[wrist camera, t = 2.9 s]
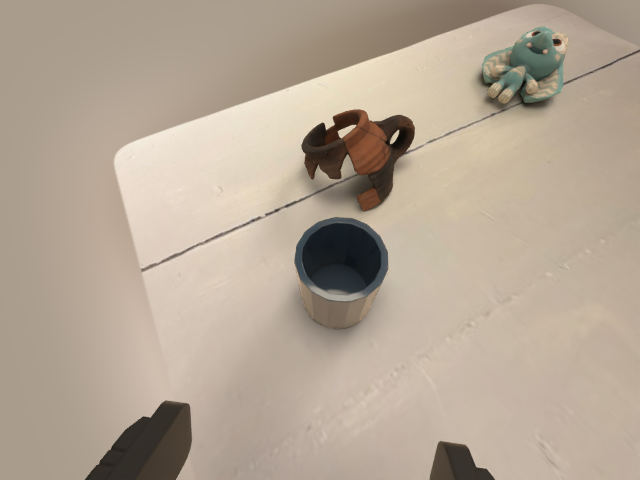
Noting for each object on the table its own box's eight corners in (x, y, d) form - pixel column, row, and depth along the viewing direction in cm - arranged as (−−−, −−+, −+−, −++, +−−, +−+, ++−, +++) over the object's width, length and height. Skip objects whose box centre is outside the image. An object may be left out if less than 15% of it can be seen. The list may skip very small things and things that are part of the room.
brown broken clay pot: (344, 232, 32) (309, 168, 27) (316, 195, 39) (284, 140, 34) (442, 169, 31) (425, 93, 26) (395, 145, 39) (374, 81, 34)
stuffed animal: (470, 49, 37) (528, -7, 39) (454, 96, 43) (505, 46, 45) (555, 89, 33) (616, 24, 35) (524, 133, 40) (576, 77, 42)
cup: (354, 342, 26) (366, 318, 19) (289, 308, 27) (277, 275, 20) (382, 279, 29) (401, 238, 22) (321, 252, 30) (321, 205, 23)
